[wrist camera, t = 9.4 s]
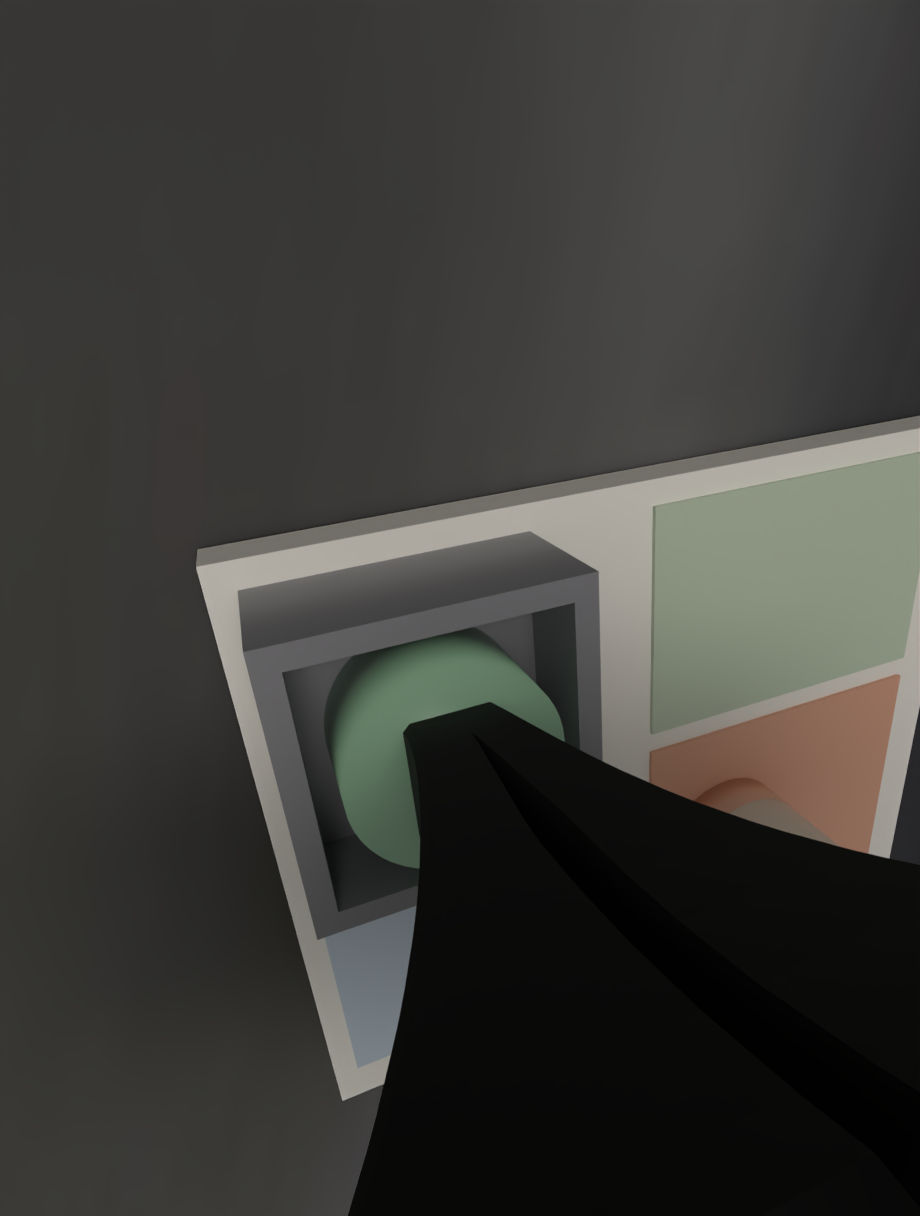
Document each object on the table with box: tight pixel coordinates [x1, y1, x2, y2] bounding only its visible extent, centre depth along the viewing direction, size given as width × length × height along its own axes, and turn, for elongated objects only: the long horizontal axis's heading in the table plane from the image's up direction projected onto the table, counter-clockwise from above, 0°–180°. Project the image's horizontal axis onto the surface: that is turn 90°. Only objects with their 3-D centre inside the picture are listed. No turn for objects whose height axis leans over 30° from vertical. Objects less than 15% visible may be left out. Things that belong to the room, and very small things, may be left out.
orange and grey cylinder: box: [695, 778, 840, 847], centre depth 13 cm, size 3×3×7 cm
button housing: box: [238, 531, 603, 940], centre depth 11 cm, size 5×5×2 cm
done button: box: [324, 627, 565, 868], centre depth 10 cm, size 3×3×2 cm
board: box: [196, 416, 920, 1101], centre depth 15 cm, size 16×13×1 cm
